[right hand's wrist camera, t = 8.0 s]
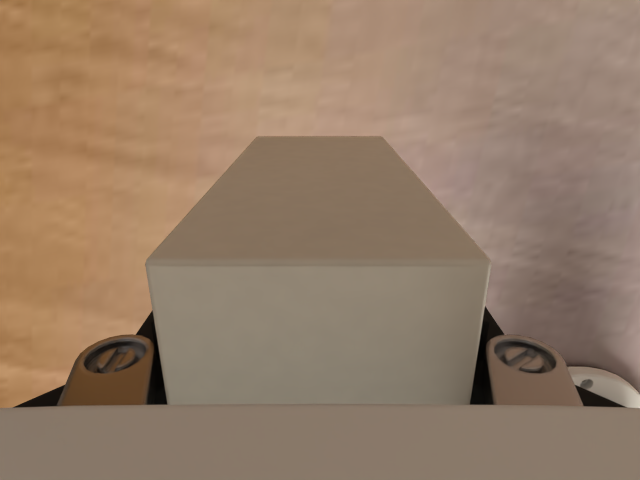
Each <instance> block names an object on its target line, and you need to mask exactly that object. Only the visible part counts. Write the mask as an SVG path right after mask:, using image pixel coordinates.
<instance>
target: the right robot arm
mask: <svg viewBox="0 0 640 480" xmlns="http://www.w3.org/2000/svg"><path fill="white" fill-rule="evenodd" d="M0 480H640V393H639V392H638V391H637V390H636V389H635V388H634V387H633V386H632V385H631V384H630V383H629V382H627V381H625V380H624V379H622V378H621V377H619V376H618V375H616V374H613V373H611V372H608V371H605V370H603V369H597V368H591V367H567V365H566V363H565V361H564V359H563V358H562V356H561V355H560V353H558V352H557V351H556V350H555V349H554V348H552V347H551V346H549V345H547V344H545V343H543V342H542V341H539V340H536V339H533V338H530V337H526V336H521V335H508V334H507V335H504V333H503V332H502V330H501V329H500V327H499V326H498V324H497V323H496V321H495V320H494V319H493V317H492V316H491V314H490V313H489V311H488V310H487V308H486V307H485V309H484V315H483V322H482V328H481V335H480V341H479V348H478V354H477V361H476V367H475V373H474V380H473V386H472V393H471V399H470V405H442V404H188V405H168V404H167V398H166V392H165V385H164V379H163V373H162V366H161V360H160V354H159V347H158V341H157V335H156V328H155V322H154V316H153V310H152V312H151V313H150V315H149V316H148V318H147V319H146V321H145V322H144V323H143V325H142V326H141V328H140V329H139V331H138V332H137V334H136V335H133V334H132V335H119V336H114V337H109V338H107V339H104V340H101V341H98V342H97V343H95V344H93V345H91V346H89V347H88V348H86V349H85V350H84V351H83V352H82V353H80V355H79V356H78V358H77V359H76V361H75V363H74V365H73V368H72V370H71V372H70V375H69V377H68V380H67V382H66V384H65V385H63V386H61V387H59V388H57V389H54V390H52V391H50V392H47V393H45V394H43V395H40V396H38V397H36V398H34V399H31V400H29V401H27V402H24V403H22V404H20V405H18V406H15V407H13V408H0Z"/></svg>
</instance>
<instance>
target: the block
mask: <svg viewBox="0 0 640 480" xmlns="http://www.w3.org/2000/svg"><path fill="white" fill-rule="evenodd" d="M490 270H491V261H490V259H489V258H488V257H487V255H486V254H485V253H484V252H483V251H482V250H481V249H480V247H479V246H478V245H477V244H476V243H475V242H474V241H473V239H472V238H471V237H470V236H469V235H468V234H467V233H466V231H465V230H464V229H463V228H462V227H461V226H460V225H459V224H458V222H457V221H456V220H455V219H454V218H453V217H452V216H451V214H450V213H449V212H448V211H447V210H446V209H445V208H444V206H443V205H442V204H441V203H440V202H439V201H438V200H437V198H436V197H435V196H434V195H433V194H432V193H431V192H430V190H429V189H428V188H427V187H426V186H425V185H424V184H423V183H422V181H421V180H420V179H419V178H418V177H417V176H416V175H415V173H414V172H413V171H412V170H411V169H410V168H409V167H408V165H407V164H406V163H405V162H404V161H403V160H402V159H401V157H400V156H399V155H398V154H397V153H396V152H395V151H394V149H393V148H392V147H391V146H390V145H389V144H388V143H387V142H386V140H385V139H384V138H383V137H381V136H258V137H256V138H255V139H254V140H253V142H252V143H251V144H250V145H249V146H248V147H247V148H246V149H245V150H244V152H243V153H242V154H241V155H240V156H239V157H238V158H237V159H236V160H235V162H234V163H233V164H232V165H231V166H230V167H229V168H228V169H227V171H226V172H225V173H224V174H223V175H222V176H221V177H220V178H219V179H218V181H217V182H216V183H215V184H214V185H213V186H212V187H211V188H210V189H209V191H208V192H207V193H206V194H205V195H204V196H203V197H202V198H201V199H200V201H199V202H198V203H197V204H196V205H195V206H194V207H193V208H192V210H191V211H190V212H189V213H188V214H187V215H186V216H185V217H184V218H183V220H182V221H181V222H180V223H179V224H178V225H177V226H176V227H175V228H174V230H173V231H172V232H171V233H170V234H169V235H168V236H167V237H166V238H165V240H164V241H163V242H162V243H161V244H160V245H159V246H158V247H157V249H156V250H155V251H154V252H153V253H152V254H151V255H150V256H149V257H148V259H147V260H146V271H147V278H148V284H149V290H150V297H151V303H152V309H153V316H154V322H155V328H156V335H157V341H158V347H159V354H160V360H161V366H162V373H163V379H164V385H165V392H166V398H167V404H168V405H188V404H442V405H470V399H471V393H472V386H473V380H474V373H475V367H476V361H477V354H478V348H479V341H480V335H481V328H482V322H483V315H484V309H485V302H486V296H487V289H488V283H489V276H490Z"/></svg>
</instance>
